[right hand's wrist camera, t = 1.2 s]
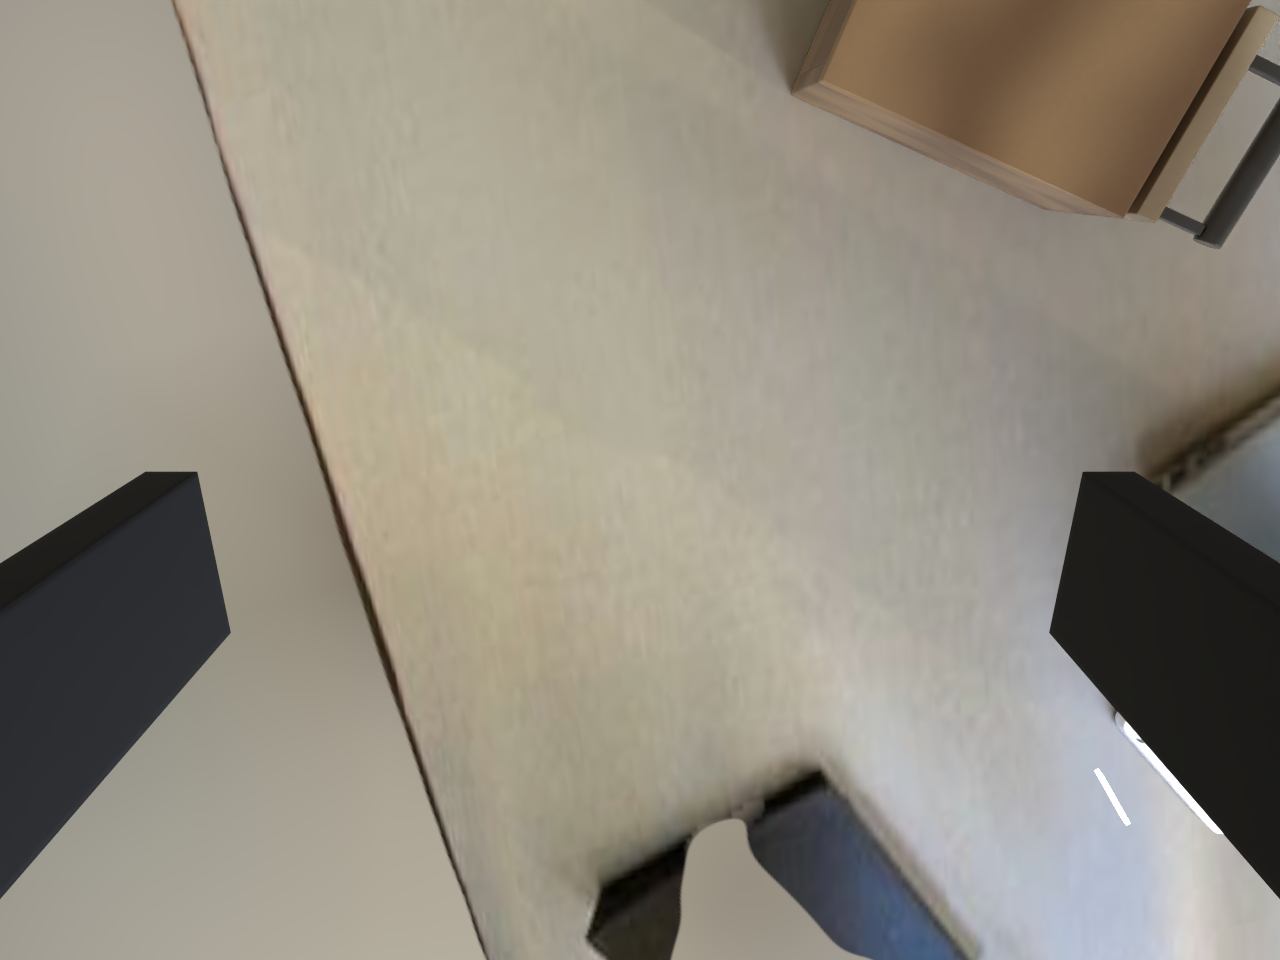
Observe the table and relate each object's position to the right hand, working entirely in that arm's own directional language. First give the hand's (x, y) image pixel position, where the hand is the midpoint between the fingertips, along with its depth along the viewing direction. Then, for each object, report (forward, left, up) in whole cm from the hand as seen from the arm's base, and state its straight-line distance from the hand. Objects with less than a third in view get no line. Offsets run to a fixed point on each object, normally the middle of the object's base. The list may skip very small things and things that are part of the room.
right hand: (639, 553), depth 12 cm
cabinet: (-11, +18, -40) cm, 46 cm away
